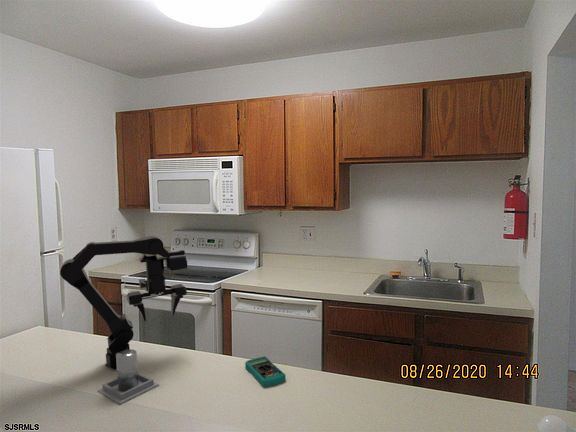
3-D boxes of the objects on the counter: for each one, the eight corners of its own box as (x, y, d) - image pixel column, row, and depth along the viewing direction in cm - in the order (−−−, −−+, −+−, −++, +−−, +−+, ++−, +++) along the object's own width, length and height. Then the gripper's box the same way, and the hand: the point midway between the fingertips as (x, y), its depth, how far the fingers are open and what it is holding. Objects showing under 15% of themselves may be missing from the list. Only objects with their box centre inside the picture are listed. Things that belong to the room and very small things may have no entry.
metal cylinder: (137, 380, 123) (135, 348, 122) (139, 388, 118) (137, 354, 117) (117, 384, 120) (115, 352, 119) (119, 393, 115) (116, 359, 114)
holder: (135, 374, 127) (135, 368, 127) (158, 385, 120) (158, 379, 120) (98, 391, 118) (97, 385, 118) (120, 404, 110) (120, 397, 110)
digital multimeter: (264, 389, 116) (263, 379, 116) (244, 368, 129) (244, 359, 129) (287, 383, 119) (286, 373, 119) (265, 363, 133) (265, 354, 132)
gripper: (176, 265, 149) (179, 307, 151) (122, 273, 140) (126, 317, 142) (185, 271, 140) (188, 315, 141) (127, 279, 130) (131, 327, 132)
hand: (159, 318), depth 139 cm, fingers open, 9 cm apart
